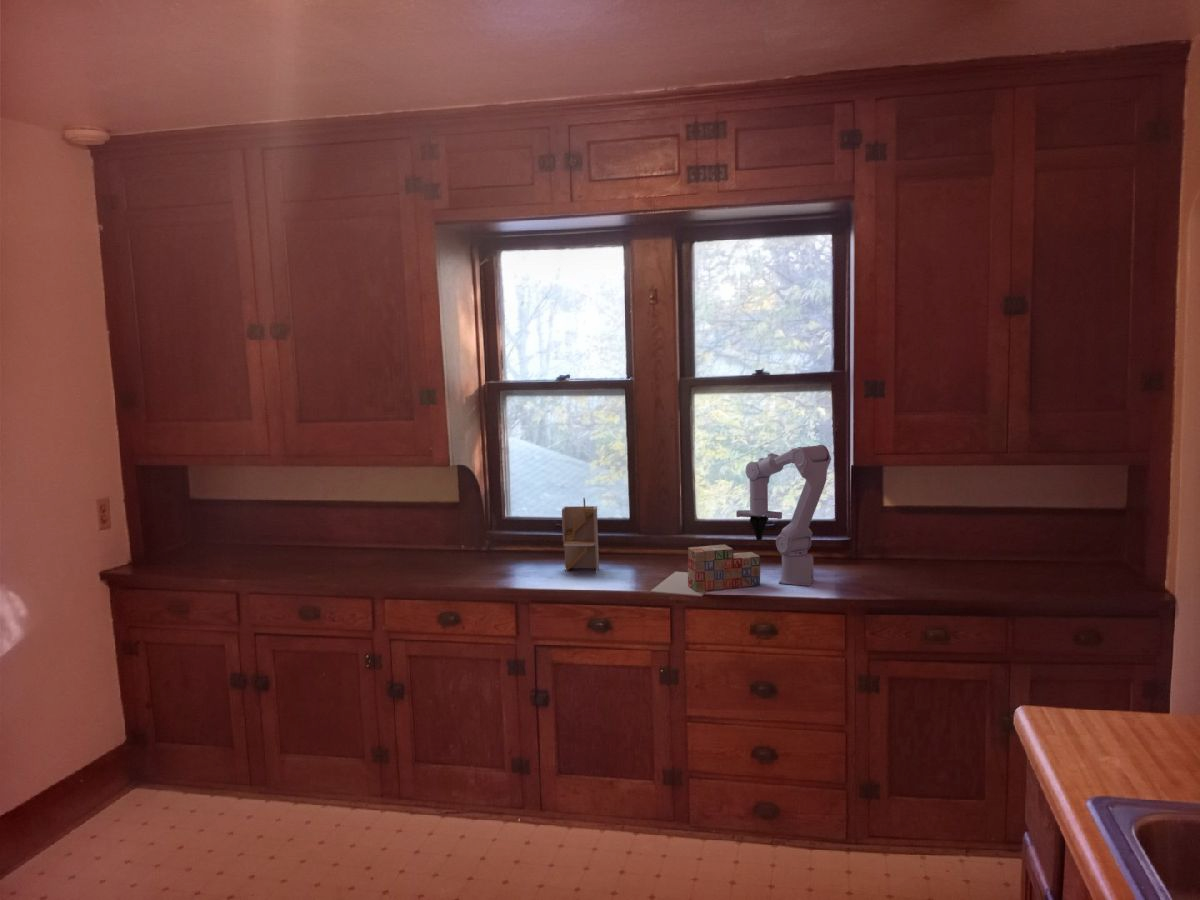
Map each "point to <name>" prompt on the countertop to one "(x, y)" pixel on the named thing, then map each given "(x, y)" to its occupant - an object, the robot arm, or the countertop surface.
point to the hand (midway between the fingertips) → (759, 539)
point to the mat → (677, 586)
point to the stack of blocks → (721, 568)
